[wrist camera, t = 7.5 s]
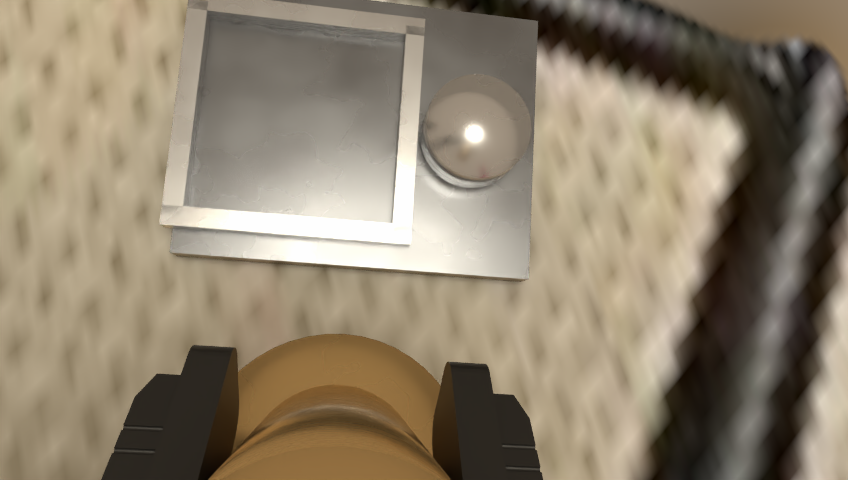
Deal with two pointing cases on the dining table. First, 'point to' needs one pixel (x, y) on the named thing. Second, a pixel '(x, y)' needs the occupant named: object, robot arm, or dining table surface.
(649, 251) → the dining table surface
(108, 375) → the dining table surface
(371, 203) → the carrier
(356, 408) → the brass knob
